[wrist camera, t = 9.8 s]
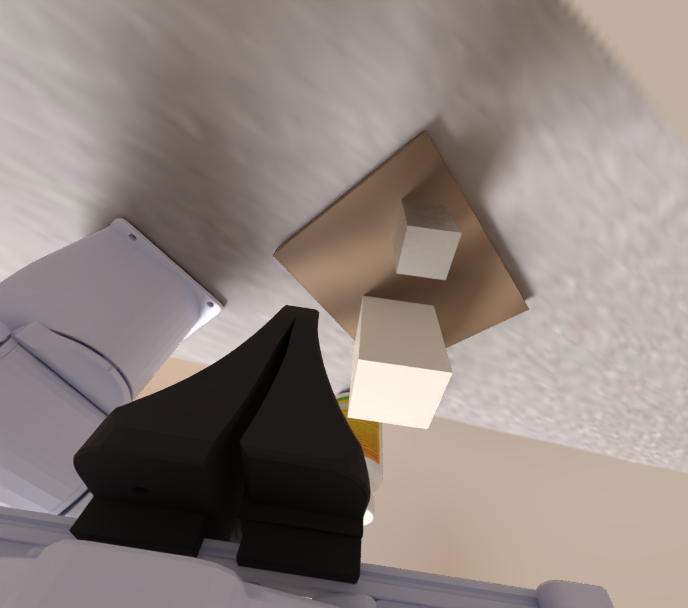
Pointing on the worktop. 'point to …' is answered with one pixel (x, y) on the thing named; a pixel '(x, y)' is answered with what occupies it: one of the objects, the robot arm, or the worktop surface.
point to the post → (424, 240)
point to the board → (378, 253)
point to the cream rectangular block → (398, 363)
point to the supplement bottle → (367, 449)
